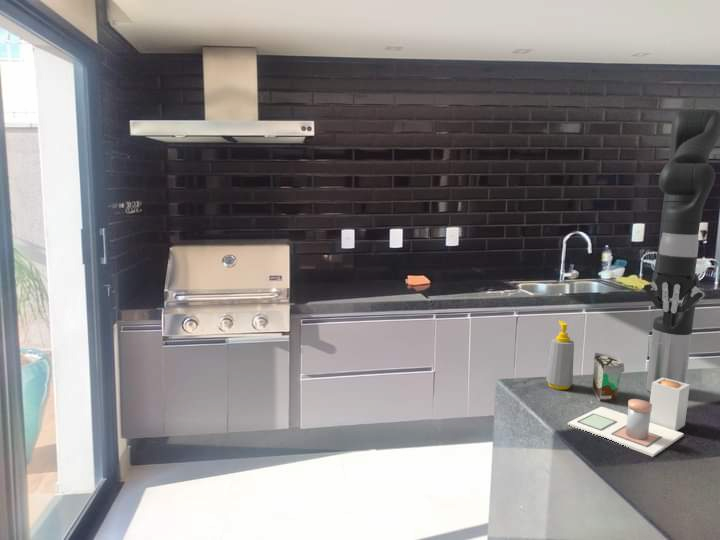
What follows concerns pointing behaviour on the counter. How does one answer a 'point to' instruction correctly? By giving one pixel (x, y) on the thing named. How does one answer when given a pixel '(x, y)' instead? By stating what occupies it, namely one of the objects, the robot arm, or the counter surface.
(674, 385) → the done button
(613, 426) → the picture board
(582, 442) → the counter surface
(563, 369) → the soap bottle
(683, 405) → the white open box
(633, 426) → the peach-capped grey cylinder
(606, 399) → the food container
